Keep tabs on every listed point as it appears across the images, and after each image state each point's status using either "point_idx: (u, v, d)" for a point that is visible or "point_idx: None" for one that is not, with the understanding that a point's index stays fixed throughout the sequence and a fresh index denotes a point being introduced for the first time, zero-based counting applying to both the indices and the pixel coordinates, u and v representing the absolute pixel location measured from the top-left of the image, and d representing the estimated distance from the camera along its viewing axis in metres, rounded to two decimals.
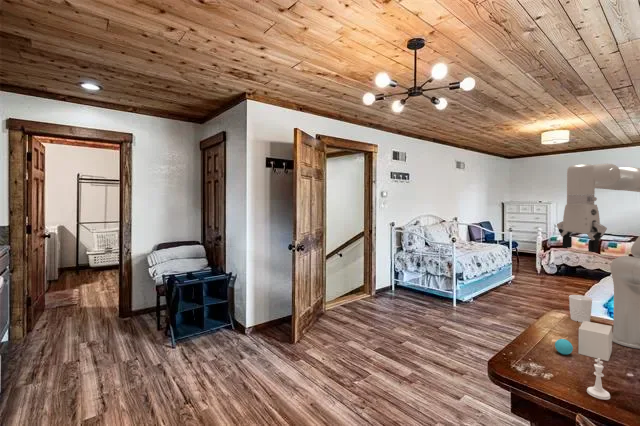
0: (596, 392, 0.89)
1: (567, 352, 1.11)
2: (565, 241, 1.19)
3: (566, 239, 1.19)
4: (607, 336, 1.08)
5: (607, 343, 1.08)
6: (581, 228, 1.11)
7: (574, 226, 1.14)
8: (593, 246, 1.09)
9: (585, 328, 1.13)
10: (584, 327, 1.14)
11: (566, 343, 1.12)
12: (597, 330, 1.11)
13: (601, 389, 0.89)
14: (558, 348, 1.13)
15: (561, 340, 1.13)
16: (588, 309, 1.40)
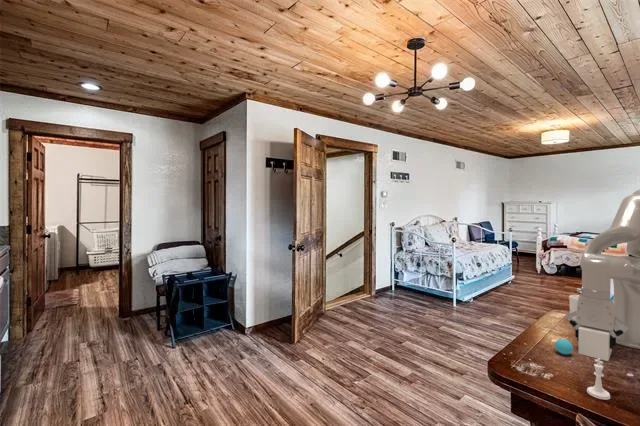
0: (596, 392, 0.89)
1: (567, 352, 1.11)
2: None
3: None
4: (607, 336, 1.08)
5: (607, 343, 1.08)
6: None
7: None
8: None
9: (585, 328, 1.13)
10: (584, 327, 1.14)
11: (566, 343, 1.12)
12: (597, 330, 1.11)
13: (601, 389, 0.89)
14: (558, 348, 1.13)
15: (561, 340, 1.13)
16: None
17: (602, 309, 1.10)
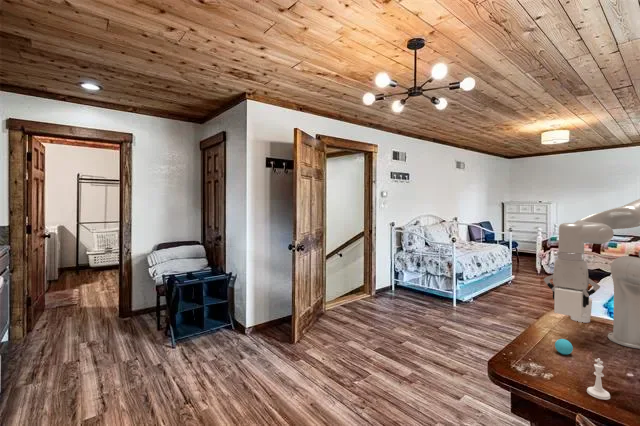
0: (596, 392, 0.89)
1: (567, 352, 1.11)
2: None
3: None
4: (580, 294, 1.15)
5: (580, 301, 1.15)
6: None
7: None
8: None
9: (560, 288, 1.21)
10: (560, 288, 1.21)
11: (566, 343, 1.12)
12: (571, 290, 1.18)
13: (601, 389, 0.89)
14: (558, 348, 1.13)
15: (561, 340, 1.13)
16: (588, 309, 1.40)
17: (576, 270, 1.18)
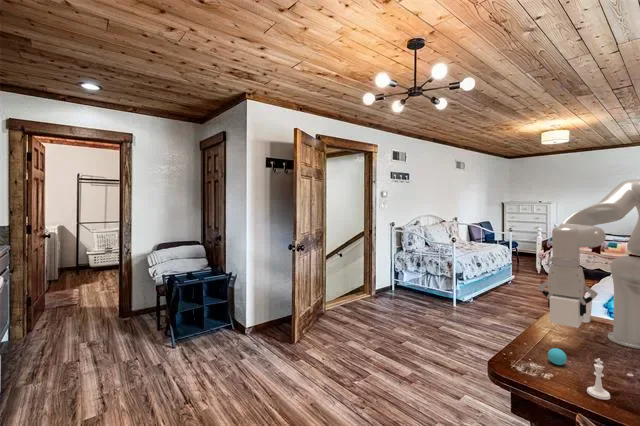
0: (596, 392, 0.89)
1: (562, 351, 1.06)
2: None
3: None
4: (576, 303, 1.08)
5: (577, 310, 1.08)
6: None
7: None
8: None
9: (555, 296, 1.14)
10: (555, 296, 1.14)
11: None
12: (567, 298, 1.11)
13: (601, 389, 0.89)
14: None
15: None
16: (588, 309, 1.40)
17: (572, 277, 1.11)
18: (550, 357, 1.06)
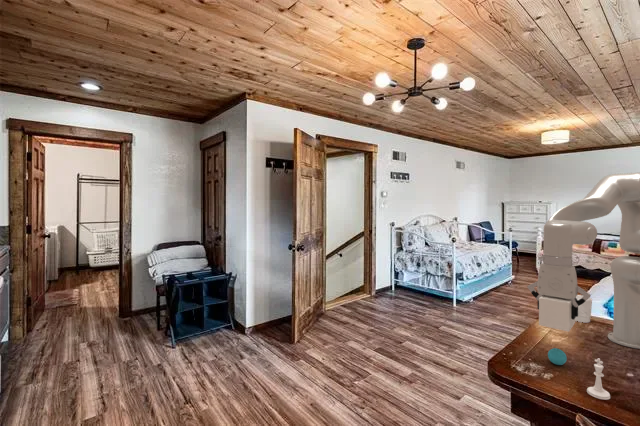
0: (596, 392, 0.89)
1: (562, 351, 1.06)
2: None
3: None
4: (568, 305, 1.00)
5: (568, 312, 1.00)
6: None
7: None
8: None
9: (545, 297, 1.05)
10: (545, 297, 1.06)
11: None
12: (558, 299, 1.03)
13: (601, 389, 0.89)
14: None
15: None
16: (588, 309, 1.40)
17: (563, 276, 1.02)
18: (550, 357, 1.06)
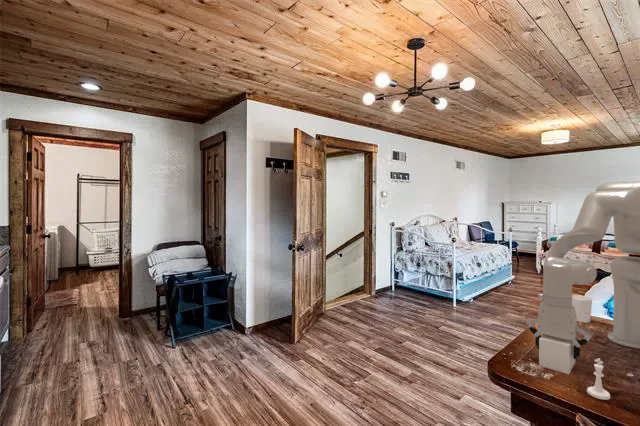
0: (596, 392, 0.89)
1: None
2: None
3: None
4: (567, 347, 1.00)
5: (567, 355, 1.00)
6: None
7: None
8: None
9: (545, 338, 1.06)
10: (545, 337, 1.07)
11: None
12: (558, 341, 1.04)
13: (601, 389, 0.89)
14: None
15: None
16: (588, 309, 1.40)
17: (563, 317, 1.03)
18: None
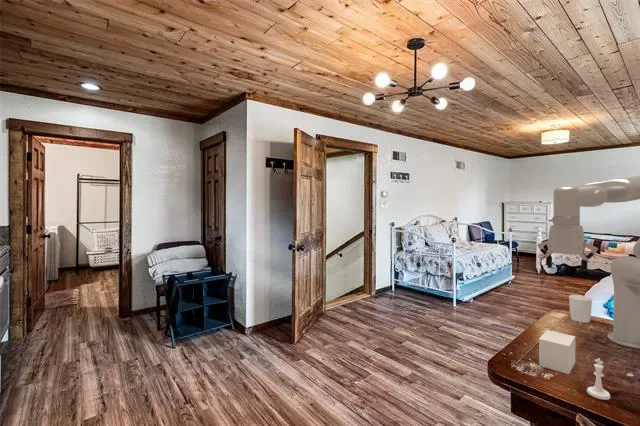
0: (596, 392, 0.89)
1: None
2: None
3: None
4: (567, 347, 1.00)
5: (567, 355, 1.00)
6: None
7: None
8: None
9: (545, 338, 1.06)
10: (545, 337, 1.07)
11: None
12: (558, 341, 1.04)
13: (601, 389, 0.89)
14: None
15: None
16: (588, 309, 1.40)
17: (572, 234, 1.14)
18: None
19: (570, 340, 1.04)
